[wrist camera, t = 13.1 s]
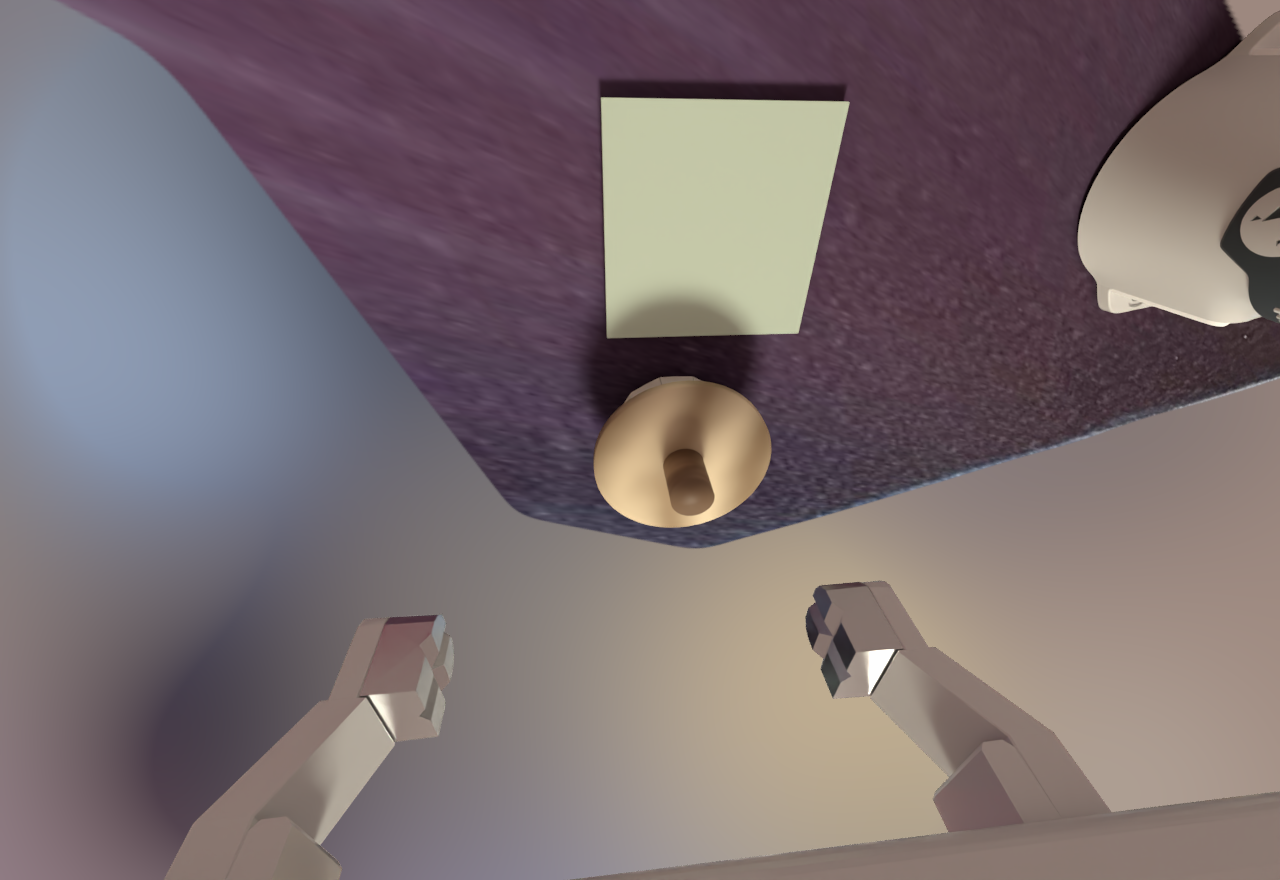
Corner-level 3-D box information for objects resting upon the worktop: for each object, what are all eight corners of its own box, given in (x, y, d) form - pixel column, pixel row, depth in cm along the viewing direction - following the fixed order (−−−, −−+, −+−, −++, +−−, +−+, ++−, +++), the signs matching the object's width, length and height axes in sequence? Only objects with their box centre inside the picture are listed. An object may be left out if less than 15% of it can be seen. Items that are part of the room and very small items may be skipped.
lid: (781, 376, 36) (807, 414, 32) (753, 514, 44) (770, 557, 40) (589, 384, 35) (590, 424, 31) (597, 524, 43) (599, 569, 39)
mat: (843, 101, 31) (849, 101, 30) (794, 328, 39) (798, 333, 39) (600, 97, 29) (601, 97, 29) (606, 333, 38) (607, 338, 37)
